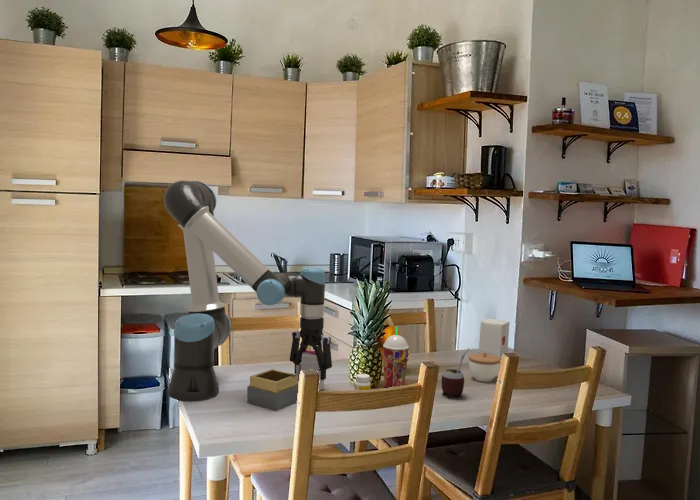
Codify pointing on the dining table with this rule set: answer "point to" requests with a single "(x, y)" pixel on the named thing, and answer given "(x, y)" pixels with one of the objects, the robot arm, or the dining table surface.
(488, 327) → the supplement box
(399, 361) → the smoothie
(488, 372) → the lidded jar
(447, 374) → the mate gourd
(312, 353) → the supplement box
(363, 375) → the supplement bottle
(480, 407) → the dining table surface
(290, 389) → the box
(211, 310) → the robot arm
